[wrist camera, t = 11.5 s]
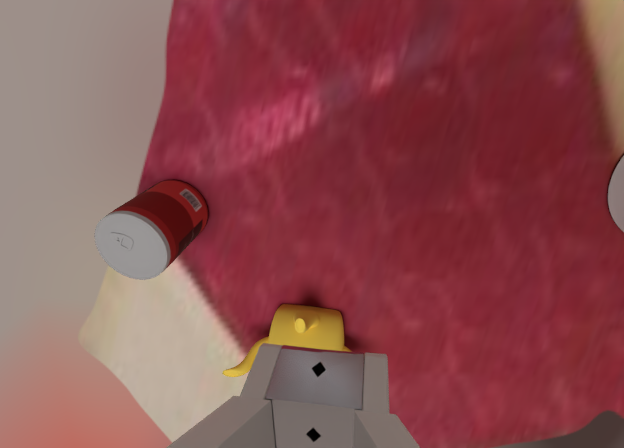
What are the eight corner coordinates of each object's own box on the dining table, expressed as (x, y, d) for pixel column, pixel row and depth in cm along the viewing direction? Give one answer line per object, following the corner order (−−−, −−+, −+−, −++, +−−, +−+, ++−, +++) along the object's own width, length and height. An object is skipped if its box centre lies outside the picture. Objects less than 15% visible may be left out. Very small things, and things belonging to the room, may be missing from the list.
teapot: (308, 388, 59) (296, 447, 50) (240, 328, 56) (215, 380, 47) (382, 343, 53) (383, 401, 44) (312, 274, 50) (298, 322, 42)
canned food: (150, 171, 47) (90, 205, 38) (212, 186, 47) (168, 224, 37) (150, 226, 51) (95, 269, 41) (208, 240, 50) (166, 288, 40)
